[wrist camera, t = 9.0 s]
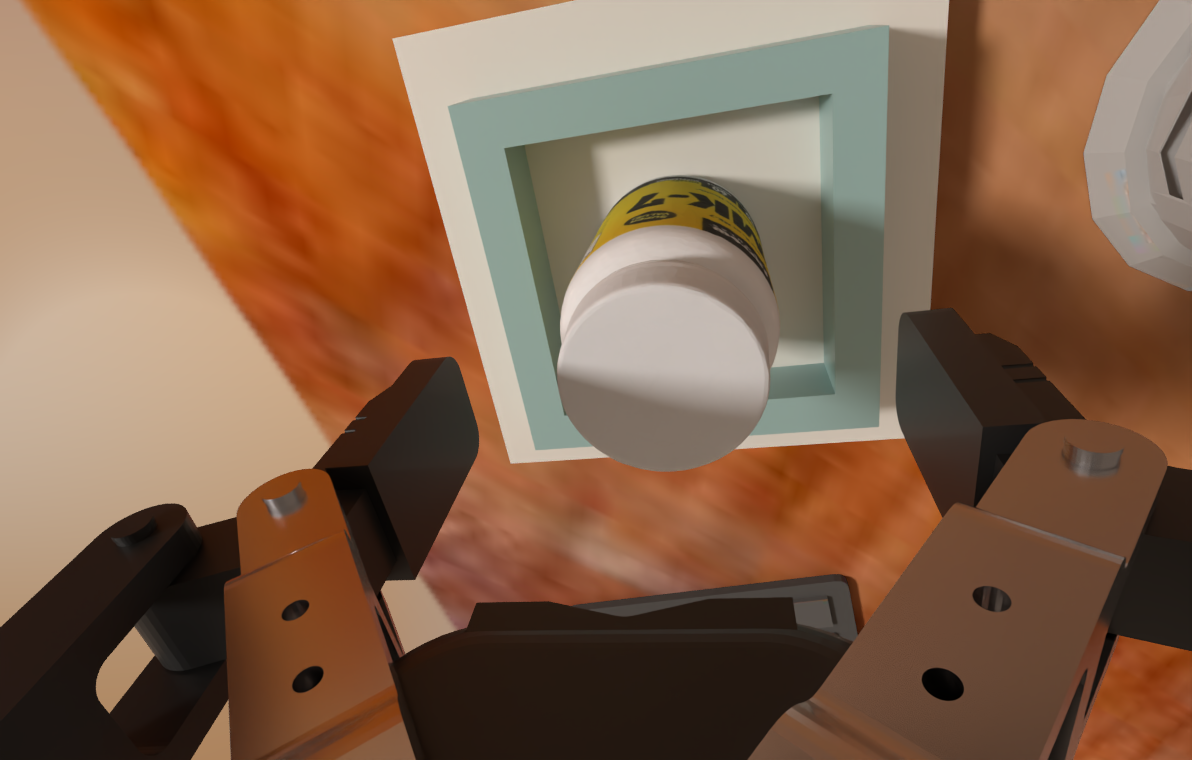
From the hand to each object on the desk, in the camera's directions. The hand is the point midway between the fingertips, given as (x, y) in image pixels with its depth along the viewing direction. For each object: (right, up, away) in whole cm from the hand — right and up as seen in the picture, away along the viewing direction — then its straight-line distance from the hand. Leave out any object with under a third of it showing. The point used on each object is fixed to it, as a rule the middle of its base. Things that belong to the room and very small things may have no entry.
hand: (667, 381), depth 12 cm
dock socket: (+1, +4, +8) cm, 9 cm away
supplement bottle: (+1, +4, +8) cm, 9 cm away
